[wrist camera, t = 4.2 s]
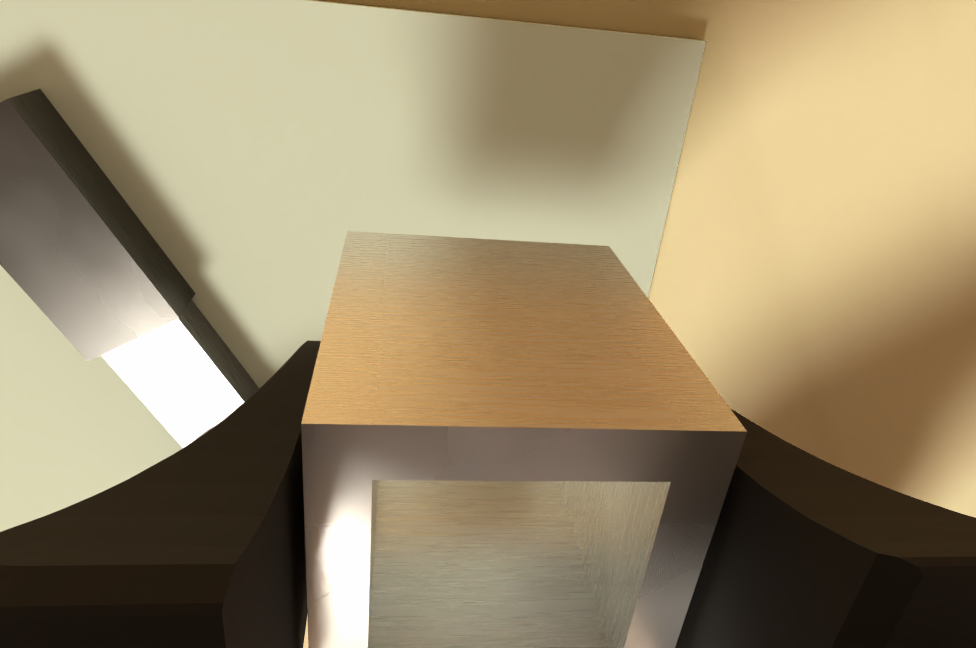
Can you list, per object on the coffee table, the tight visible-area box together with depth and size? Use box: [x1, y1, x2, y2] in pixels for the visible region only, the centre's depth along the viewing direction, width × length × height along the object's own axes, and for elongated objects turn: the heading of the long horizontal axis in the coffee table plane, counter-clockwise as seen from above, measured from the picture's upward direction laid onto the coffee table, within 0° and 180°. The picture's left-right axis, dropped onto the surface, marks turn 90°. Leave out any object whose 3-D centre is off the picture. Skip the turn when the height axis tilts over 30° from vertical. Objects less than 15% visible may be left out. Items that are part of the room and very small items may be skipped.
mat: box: [0, 0, 706, 532], centre depth 20 cm, size 22×18×1 cm
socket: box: [301, 231, 747, 648], centre depth 11 cm, size 5×5×6 cm
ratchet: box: [0, 89, 259, 448], centre depth 18 cm, size 16×6×4 cm, turn 24°
